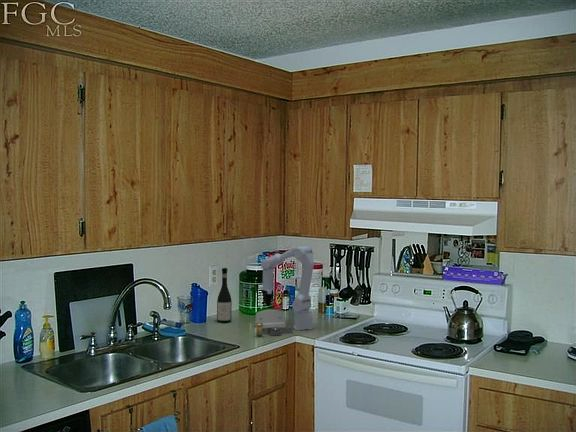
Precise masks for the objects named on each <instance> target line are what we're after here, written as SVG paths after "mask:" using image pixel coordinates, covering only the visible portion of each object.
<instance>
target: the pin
mask: <svg viewBox="0 0 576 432" xmlns="http://www.w3.org/2000/svg"><path fill="white" fill-rule="evenodd" d="M262 326H263V323H256V324H255V323H254V327H255V330H256V331H255V337H257V338H261V337H263V334H262Z"/></svg>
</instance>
